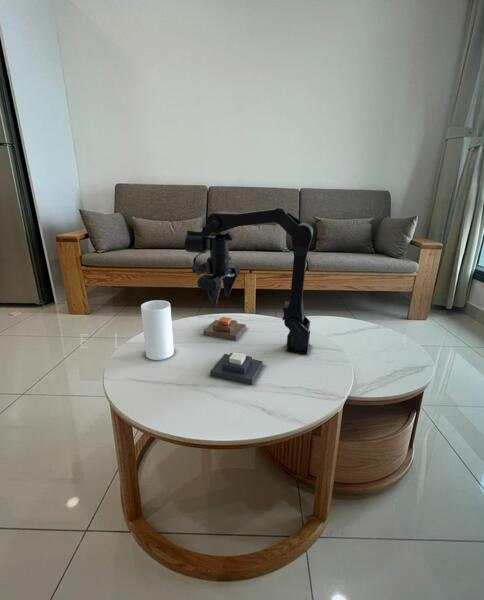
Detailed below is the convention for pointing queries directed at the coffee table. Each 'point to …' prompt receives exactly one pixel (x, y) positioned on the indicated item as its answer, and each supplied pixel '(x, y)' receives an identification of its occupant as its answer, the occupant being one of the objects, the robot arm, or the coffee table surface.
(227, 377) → the dark grey stepped stand
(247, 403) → the coffee table surface
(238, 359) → the key front
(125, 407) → the coffee table surface
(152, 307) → the cup
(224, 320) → the key back
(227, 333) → the stepped brown pyramid
